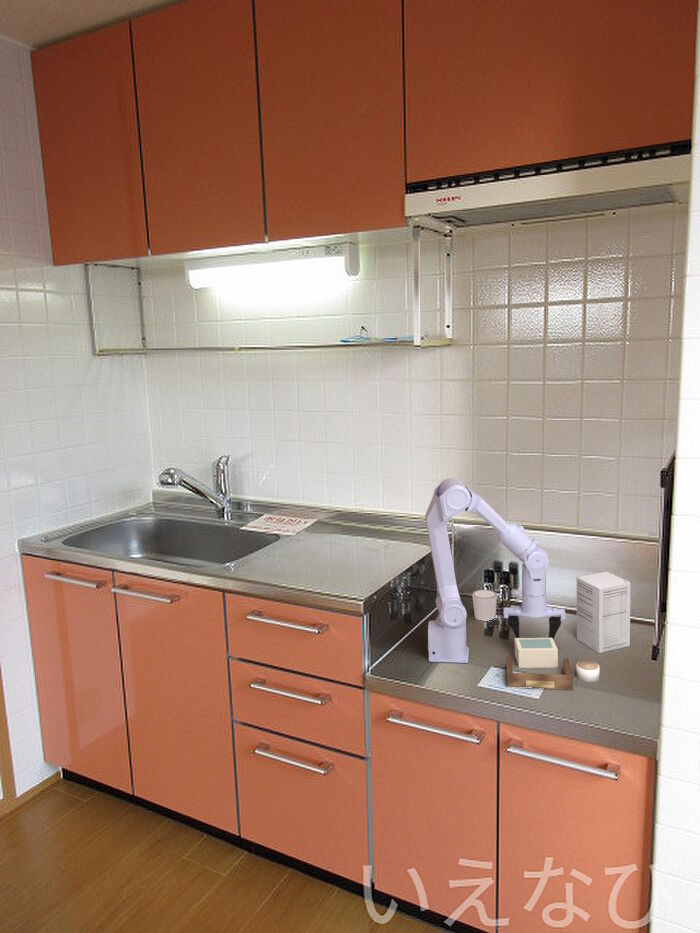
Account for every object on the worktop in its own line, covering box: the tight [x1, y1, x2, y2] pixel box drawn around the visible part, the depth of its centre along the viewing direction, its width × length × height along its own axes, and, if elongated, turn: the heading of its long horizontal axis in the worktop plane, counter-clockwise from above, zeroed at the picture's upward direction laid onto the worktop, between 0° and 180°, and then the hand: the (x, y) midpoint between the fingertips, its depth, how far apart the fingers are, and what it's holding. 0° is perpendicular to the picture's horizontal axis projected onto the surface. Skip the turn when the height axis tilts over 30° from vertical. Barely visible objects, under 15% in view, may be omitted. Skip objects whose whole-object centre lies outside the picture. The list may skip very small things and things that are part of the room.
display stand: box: [505, 655, 574, 691], centre depth 157 cm, size 14×9×3 cm
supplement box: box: [576, 571, 631, 654], centre depth 172 cm, size 10×9×17 cm
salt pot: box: [575, 659, 601, 683], centre depth 157 cm, size 5×5×3 cm
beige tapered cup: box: [471, 589, 498, 622], centre depth 192 cm, size 7×7×7 cm
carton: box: [514, 637, 559, 669], centre depth 166 cm, size 9×6×4 cm
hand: (534, 644), depth 171 cm, fingers open, 7 cm apart
